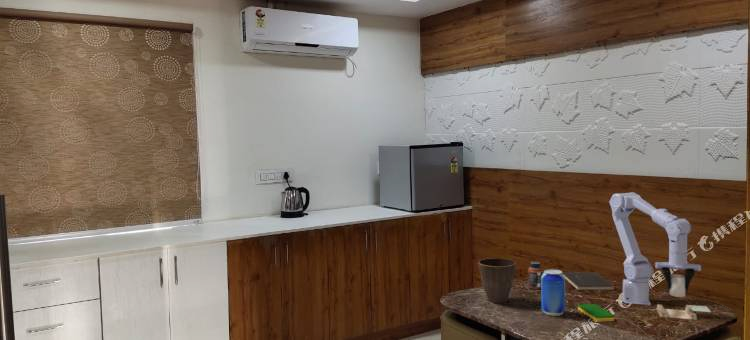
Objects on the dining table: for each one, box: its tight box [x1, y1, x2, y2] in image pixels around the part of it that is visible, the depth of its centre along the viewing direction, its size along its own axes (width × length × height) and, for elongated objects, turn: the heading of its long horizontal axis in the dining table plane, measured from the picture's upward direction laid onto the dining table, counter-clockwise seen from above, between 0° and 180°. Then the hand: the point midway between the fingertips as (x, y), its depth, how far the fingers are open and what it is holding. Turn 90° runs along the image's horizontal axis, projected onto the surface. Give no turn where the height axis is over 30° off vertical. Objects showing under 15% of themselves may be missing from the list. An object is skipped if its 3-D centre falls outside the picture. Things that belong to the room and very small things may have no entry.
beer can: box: [540, 268, 566, 317], centre depth 201 cm, size 8×8×16 cm
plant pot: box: [478, 257, 517, 304], centre depth 217 cm, size 15×15×16 cm
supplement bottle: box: [527, 261, 543, 290], centre depth 234 cm, size 6×6×11 cm
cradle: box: [655, 303, 699, 321], centre depth 196 cm, size 12×10×2 cm
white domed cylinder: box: [669, 274, 686, 298], centre depth 196 cm, size 5×6×7 cm
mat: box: [685, 304, 712, 313], centre depth 201 cm, size 7×7×1 cm
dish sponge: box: [577, 303, 615, 323], centre depth 198 cm, size 7×14×2 cm, turn 6°
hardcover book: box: [562, 271, 616, 291], centre depth 241 cm, size 16×23×2 cm
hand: (677, 288), depth 196 cm, fingers closed on white domed cylinder, 5 cm apart
